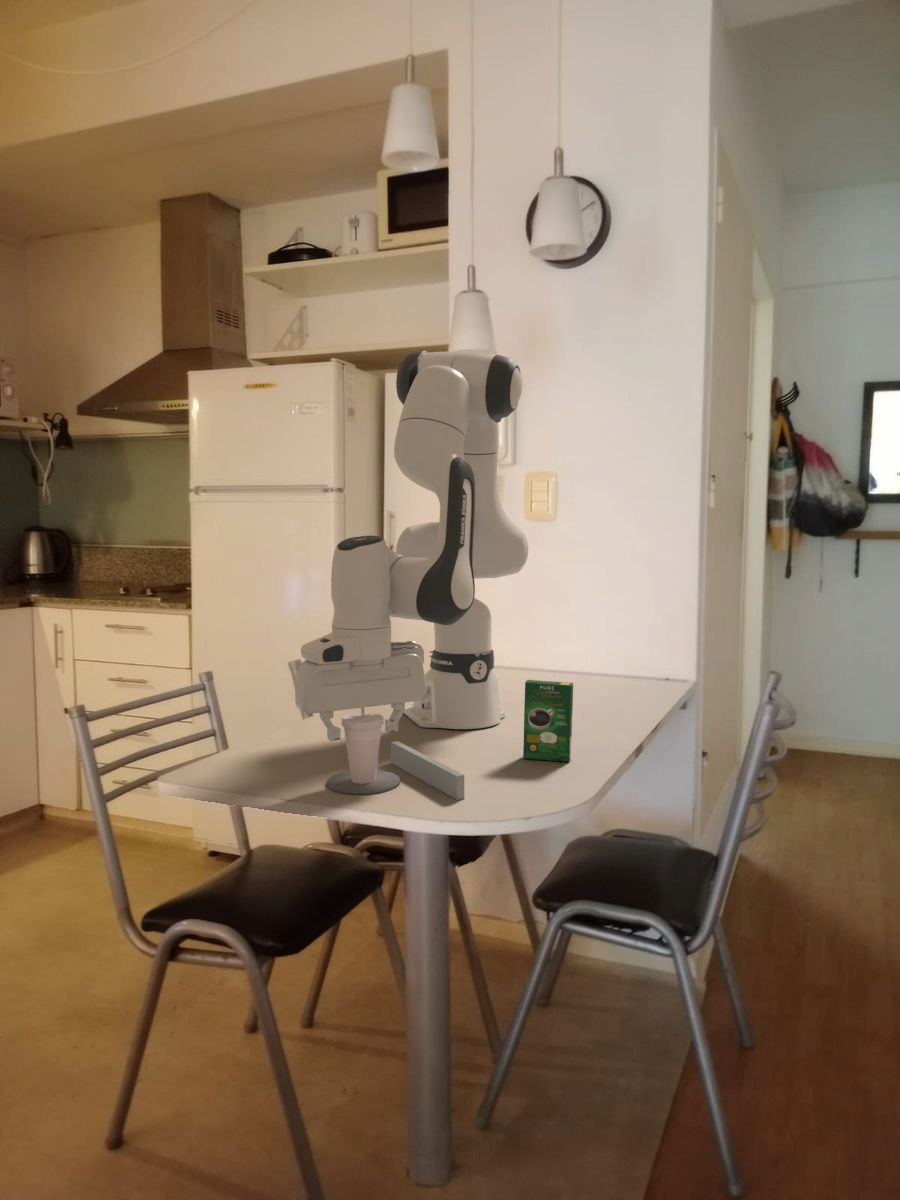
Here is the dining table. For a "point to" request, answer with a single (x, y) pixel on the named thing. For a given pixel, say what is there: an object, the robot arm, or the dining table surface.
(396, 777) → the pad
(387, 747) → the dining table surface
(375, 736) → the smoothie
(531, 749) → the coffee box
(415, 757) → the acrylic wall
